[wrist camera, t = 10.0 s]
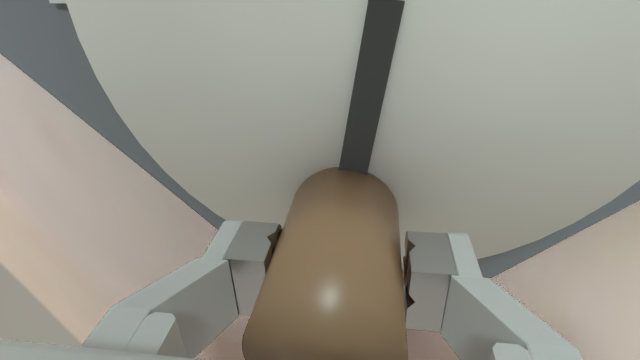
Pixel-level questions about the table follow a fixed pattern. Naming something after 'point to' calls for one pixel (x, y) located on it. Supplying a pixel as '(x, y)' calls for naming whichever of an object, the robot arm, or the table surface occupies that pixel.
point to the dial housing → (97, 111)
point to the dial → (373, 135)
